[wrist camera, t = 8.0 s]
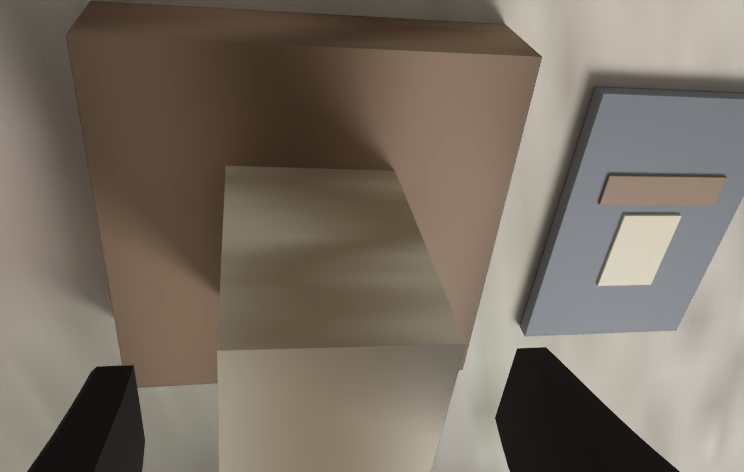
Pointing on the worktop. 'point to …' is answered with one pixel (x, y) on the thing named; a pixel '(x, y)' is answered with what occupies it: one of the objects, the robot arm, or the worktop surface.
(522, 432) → the robot arm
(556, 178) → the worktop surface
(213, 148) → the walnut block
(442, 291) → the maple block
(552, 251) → the card
